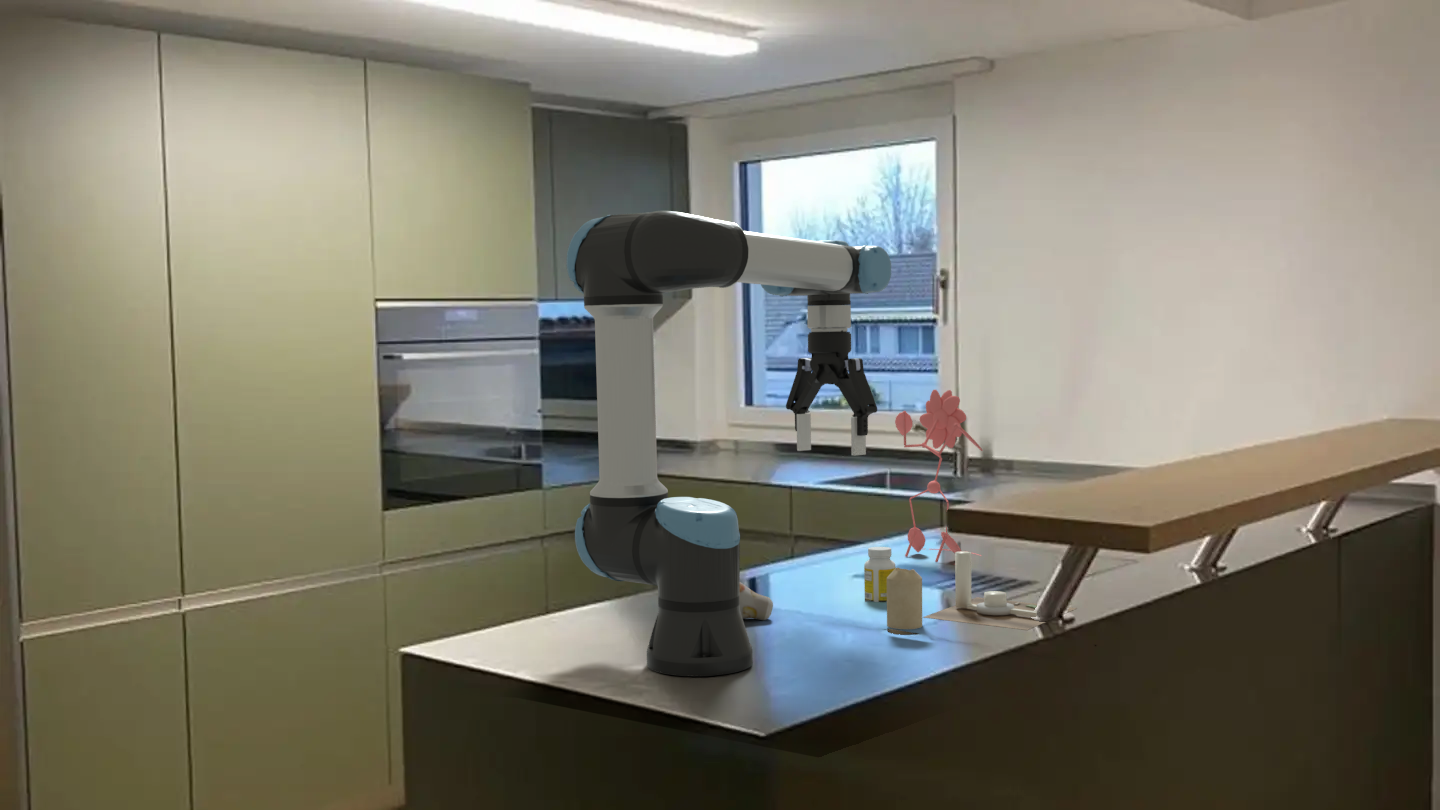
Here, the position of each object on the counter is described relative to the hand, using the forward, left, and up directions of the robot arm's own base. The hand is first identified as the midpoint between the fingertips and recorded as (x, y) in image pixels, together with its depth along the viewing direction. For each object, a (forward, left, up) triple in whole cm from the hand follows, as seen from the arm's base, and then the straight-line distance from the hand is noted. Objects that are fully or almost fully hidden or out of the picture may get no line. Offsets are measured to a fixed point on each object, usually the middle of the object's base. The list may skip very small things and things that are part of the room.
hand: (830, 452), depth 243 cm
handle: (+1, -30, -25) cm, 39 cm away
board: (+2, -31, -26) cm, 41 cm away
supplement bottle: (+2, -8, -26) cm, 28 cm away
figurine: (+54, +6, -26) cm, 61 cm away
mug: (-20, +5, -26) cm, 34 cm away
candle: (-15, -22, -26) cm, 38 cm away
